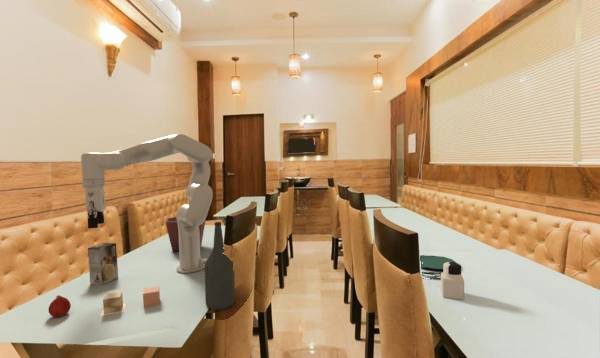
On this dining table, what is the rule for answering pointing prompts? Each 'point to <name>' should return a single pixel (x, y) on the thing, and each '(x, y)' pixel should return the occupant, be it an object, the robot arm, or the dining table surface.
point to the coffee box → (102, 263)
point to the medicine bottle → (452, 281)
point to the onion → (59, 306)
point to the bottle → (219, 275)
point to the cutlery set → (434, 263)
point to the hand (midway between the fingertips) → (96, 225)
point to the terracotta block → (151, 296)
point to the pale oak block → (112, 302)
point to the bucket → (174, 234)
